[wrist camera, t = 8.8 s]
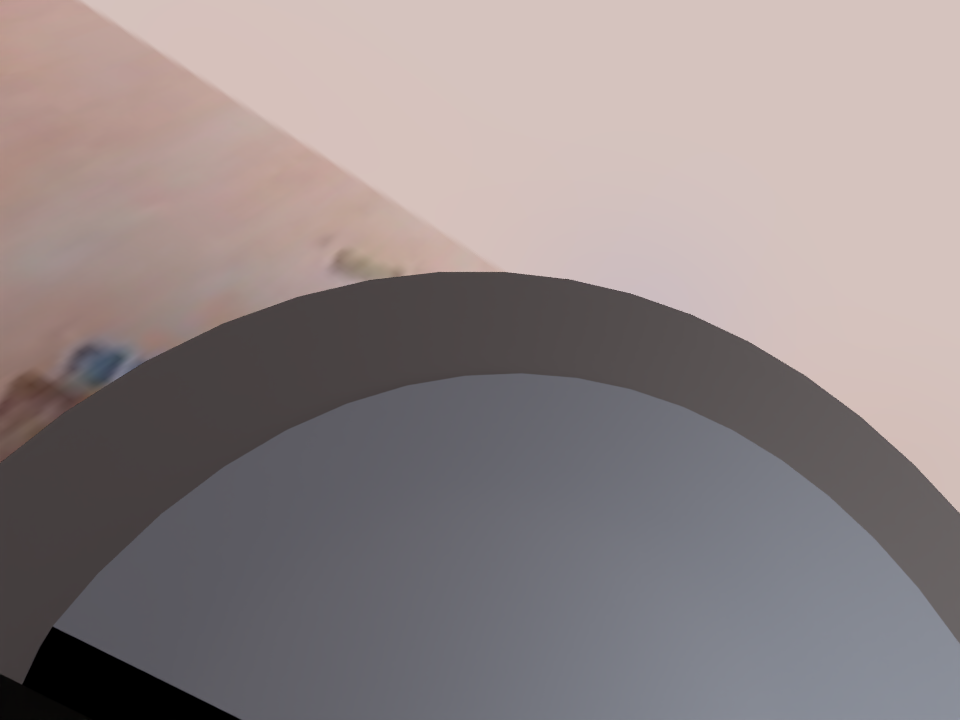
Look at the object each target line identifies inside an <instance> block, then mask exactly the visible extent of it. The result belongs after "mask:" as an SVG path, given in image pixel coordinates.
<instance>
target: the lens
mask: <svg viewBox="0 0 960 720" xmlns="http://www.w3.org/2000/svg"><path fill="white" fill-rule="evenodd" d="M0 720H960V513H959V512H957V510H956V509H955V508H954V507H953V506H952V505H951V504H950V503H949V502H948V501H947V499H945V497H944V496H943V495H942V494H941V493H940V492H939V491H938V490H937V489H936V488H935V487H934V486H933V485H932V483H931V482H930V481H929V480H928V479H927V478H926V477H925V476H924V475H923V474H922V473H921V472H920V471H919V470H918V468H916V466H915V465H914V464H912V462H910V461H909V460H908V459H907V458H906V457H905V456H904V455H903V454H902V453H900V452H899V451H898V450H897V449H896V448H895V447H894V446H893V445H891V444H890V443H889V442H888V441H887V440H886V439H885V438H884V437H882V436H881V435H880V434H879V433H878V432H877V431H876V430H875V429H874V428H872V427H871V426H870V425H869V424H868V423H867V422H866V421H865V420H864V419H862V418H861V417H860V416H859V415H857V414H856V413H855V412H853V411H852V410H851V409H849V408H848V407H847V406H845V405H844V404H843V403H841V402H840V401H839V400H837V399H836V398H834V397H833V396H832V395H830V394H829V393H828V392H826V391H825V390H824V389H822V388H821V387H820V386H818V385H817V384H816V383H814V382H813V381H812V380H810V379H809V378H808V377H806V376H804V375H803V374H801V373H800V372H798V371H796V370H795V369H793V368H791V367H790V366H788V365H786V364H784V363H783V362H781V361H780V360H778V359H776V358H775V357H773V356H772V355H770V354H768V353H766V352H765V351H763V350H761V349H760V348H758V347H757V346H755V345H753V344H752V343H750V342H748V341H746V340H744V339H742V338H740V337H737V336H735V335H733V334H731V333H729V332H726V331H725V330H723V329H720V328H718V327H716V326H714V325H712V324H710V323H708V322H706V321H703V320H701V319H699V318H697V317H695V316H693V315H691V314H688V313H684V312H682V311H679V310H676V309H673V308H670V307H668V306H665V305H662V304H659V303H656V302H653V301H650V300H648V299H645V298H642V297H639V296H636V295H633V294H630V293H626V292H621V291H617V290H612V289H608V288H604V287H600V286H595V285H591V284H586V283H582V282H578V281H574V280H569V279H559V278H551V277H543V276H534V275H525V274H517V273H508V272H436V273H427V274H419V275H410V276H401V277H393V278H384V279H375V280H368V281H364V282H360V283H356V284H351V285H347V286H343V287H338V288H334V289H330V290H326V291H321V292H317V293H313V294H308V295H304V296H300V297H296V298H294V299H291V300H288V301H285V302H282V303H280V304H277V305H274V306H271V307H268V308H266V309H263V310H260V311H257V312H254V313H252V314H249V315H246V316H243V317H240V318H238V319H235V320H232V321H229V322H226V323H224V324H221V325H219V326H217V327H215V328H213V329H211V330H209V331H207V332H205V333H203V334H201V335H199V336H197V337H195V338H193V339H191V340H189V341H187V342H184V343H182V344H180V345H178V346H176V347H174V348H172V349H170V350H168V351H166V352H164V353H162V354H160V355H158V356H156V357H154V358H152V359H150V360H148V361H146V362H144V363H142V364H141V365H139V366H138V367H136V368H134V369H133V370H131V371H130V372H128V373H126V374H125V375H123V376H122V377H120V378H118V379H117V380H115V381H114V382H112V383H111V384H109V385H107V386H106V387H104V388H103V389H101V390H99V391H98V392H96V393H95V394H93V395H91V396H90V397H88V398H87V399H85V400H83V401H82V402H80V403H79V404H77V405H75V406H74V407H72V408H71V409H69V410H68V411H66V412H64V413H63V414H62V415H61V416H59V417H58V418H57V419H56V420H54V421H53V422H52V423H50V424H49V425H48V426H47V427H45V428H44V429H43V430H42V431H40V432H39V433H38V434H36V435H35V436H34V437H33V438H31V439H30V440H29V441H27V442H26V443H25V444H24V445H22V446H21V447H20V448H19V449H17V450H16V451H15V452H13V453H12V454H11V455H10V456H8V457H7V458H6V459H5V460H3V461H2V462H1V463H0Z"/></svg>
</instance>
